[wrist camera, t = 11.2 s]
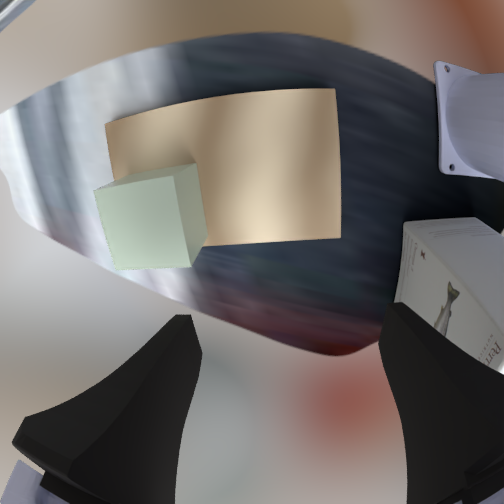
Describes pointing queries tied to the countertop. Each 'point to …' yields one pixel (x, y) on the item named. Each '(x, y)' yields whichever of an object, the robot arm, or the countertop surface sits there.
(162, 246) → the pale green block
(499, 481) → the robot arm
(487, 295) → the supplement box
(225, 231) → the board
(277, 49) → the countertop surface
